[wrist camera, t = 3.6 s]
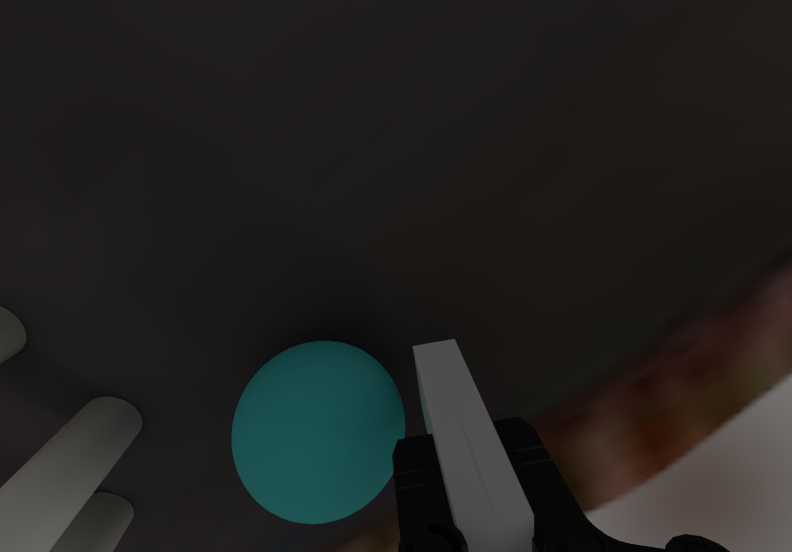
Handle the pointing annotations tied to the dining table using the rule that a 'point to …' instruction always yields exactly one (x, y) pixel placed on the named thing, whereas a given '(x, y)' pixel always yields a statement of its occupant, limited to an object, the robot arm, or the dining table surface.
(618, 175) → the dining table surface
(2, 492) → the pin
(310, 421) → the ball
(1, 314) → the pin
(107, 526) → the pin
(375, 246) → the dining table surface
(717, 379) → the dining table surface
